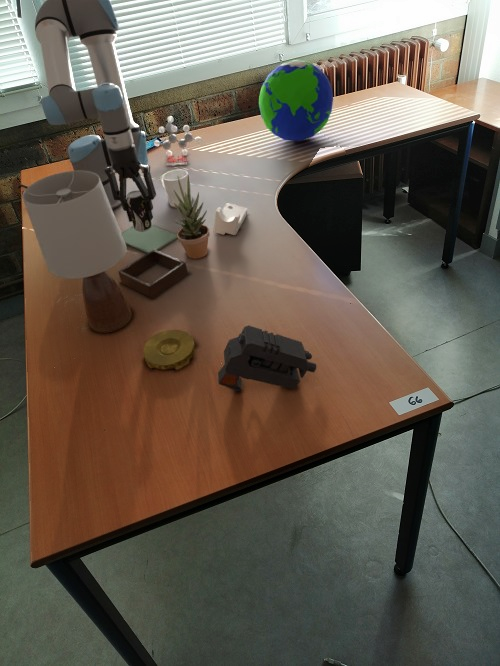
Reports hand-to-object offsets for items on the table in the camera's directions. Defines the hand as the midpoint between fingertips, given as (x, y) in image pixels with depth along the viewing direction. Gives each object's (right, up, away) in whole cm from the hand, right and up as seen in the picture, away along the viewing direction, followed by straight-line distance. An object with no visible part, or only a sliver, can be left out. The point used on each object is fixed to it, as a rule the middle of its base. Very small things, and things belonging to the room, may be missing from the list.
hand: (141, 219), depth 157 cm
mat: (+1, -5, +5) cm, 7 cm away
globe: (+54, +46, +55) cm, 89 cm away
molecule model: (+5, +36, +51) cm, 63 cm away
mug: (+9, +11, +22) cm, 26 cm away
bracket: (+29, -1, +5) cm, 29 cm away
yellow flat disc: (+15, -41, -38) cm, 58 cm away
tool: (+38, -46, -48) cm, 77 cm away
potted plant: (+18, -12, -6) cm, 22 cm away
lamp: (-2, -32, -26) cm, 41 cm away
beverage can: (0, -3, +2) cm, 4 cm away
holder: (+7, -20, -14) cm, 25 cm away
